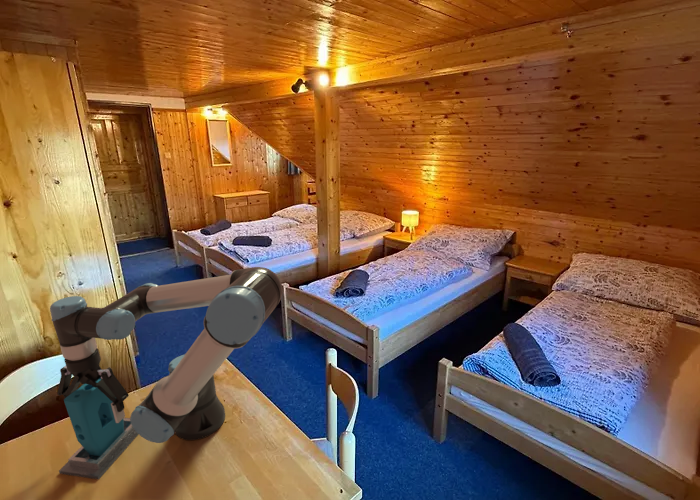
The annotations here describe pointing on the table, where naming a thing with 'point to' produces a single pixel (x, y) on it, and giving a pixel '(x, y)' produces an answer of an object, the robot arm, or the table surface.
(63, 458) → the table surface
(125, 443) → the grey rectangular tray
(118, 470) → the table surface
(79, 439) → the block
